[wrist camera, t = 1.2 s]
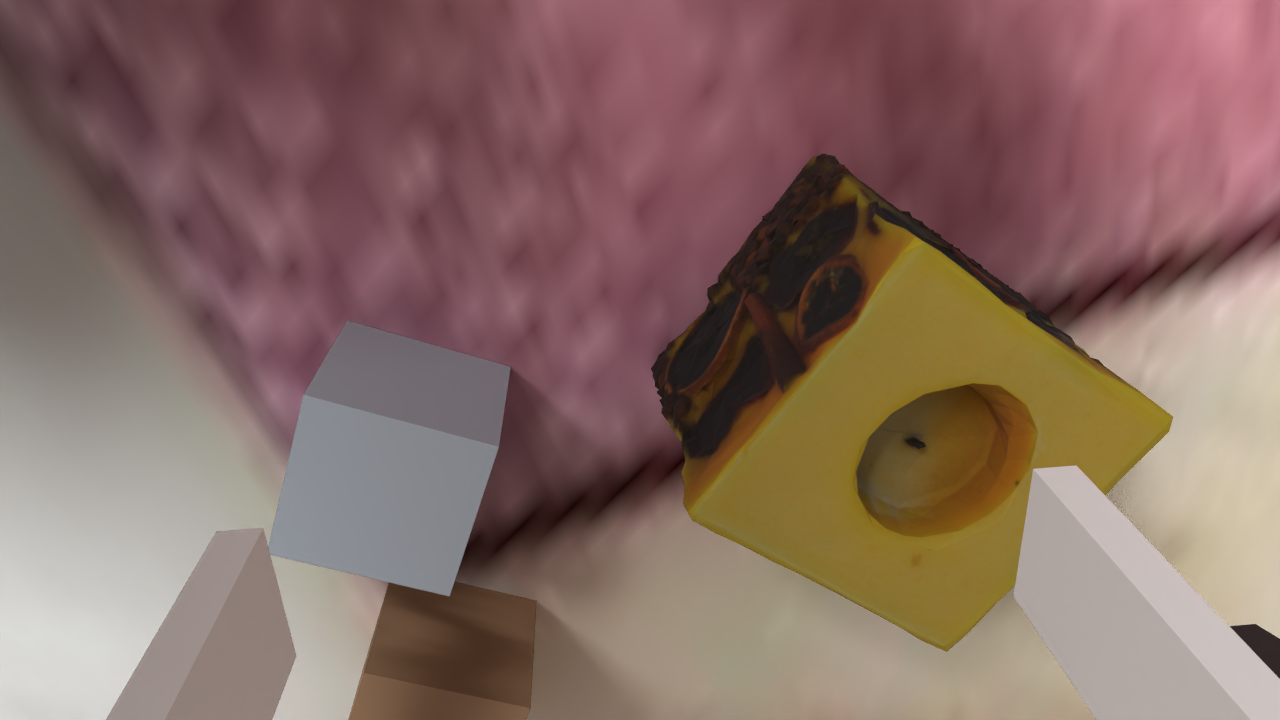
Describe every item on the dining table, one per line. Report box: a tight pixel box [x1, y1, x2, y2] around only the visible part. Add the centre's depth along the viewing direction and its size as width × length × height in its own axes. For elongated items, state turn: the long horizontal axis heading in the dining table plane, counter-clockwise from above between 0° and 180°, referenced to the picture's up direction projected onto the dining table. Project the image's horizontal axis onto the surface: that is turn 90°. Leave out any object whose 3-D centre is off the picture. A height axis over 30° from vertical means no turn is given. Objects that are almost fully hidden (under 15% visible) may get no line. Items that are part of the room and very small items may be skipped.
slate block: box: [268, 320, 511, 596], centre depth 32 cm, size 6×6×6 cm
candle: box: [651, 154, 1173, 651], centre depth 30 cm, size 10×10×10 cm
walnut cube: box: [349, 582, 536, 720], centre depth 37 cm, size 6×6×6 cm
